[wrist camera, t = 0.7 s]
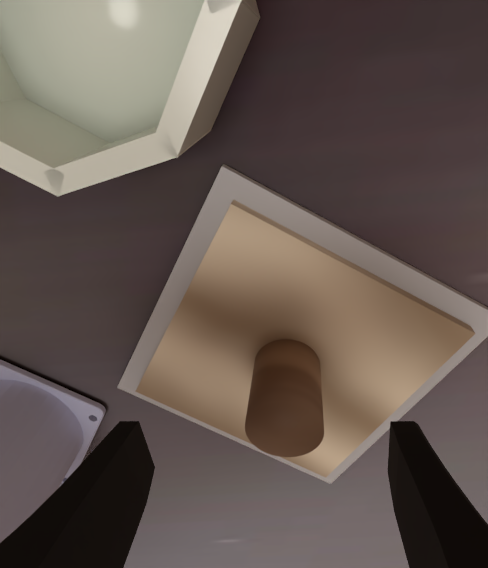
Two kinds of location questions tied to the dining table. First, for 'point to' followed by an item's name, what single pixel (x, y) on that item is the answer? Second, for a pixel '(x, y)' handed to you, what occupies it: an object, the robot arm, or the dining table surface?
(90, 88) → the bowl
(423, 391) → the mat
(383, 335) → the board
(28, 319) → the dining table surface
